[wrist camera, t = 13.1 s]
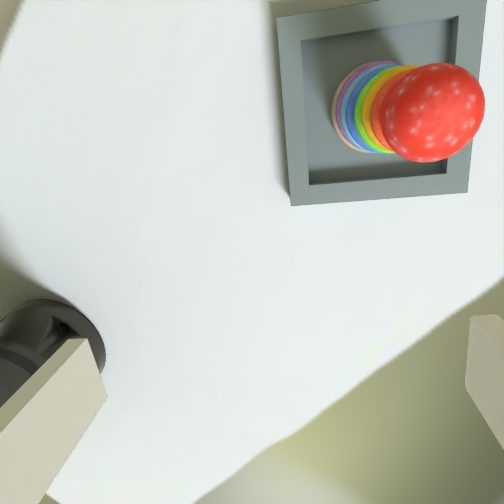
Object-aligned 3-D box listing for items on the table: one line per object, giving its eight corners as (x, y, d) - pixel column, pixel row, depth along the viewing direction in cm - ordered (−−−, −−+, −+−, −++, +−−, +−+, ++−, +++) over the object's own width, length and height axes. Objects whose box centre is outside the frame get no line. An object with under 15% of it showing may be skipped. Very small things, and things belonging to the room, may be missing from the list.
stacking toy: (330, 153, 37) (351, 195, 19) (330, 66, 34) (356, 24, 16) (412, 149, 35) (511, 189, 18) (420, 58, 32) (548, 3, 15)
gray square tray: (291, 201, 40) (290, 206, 38) (278, 23, 34) (276, 17, 32) (458, 187, 37) (467, 192, 35) (476, -10, 31) (488, -18, 29)
